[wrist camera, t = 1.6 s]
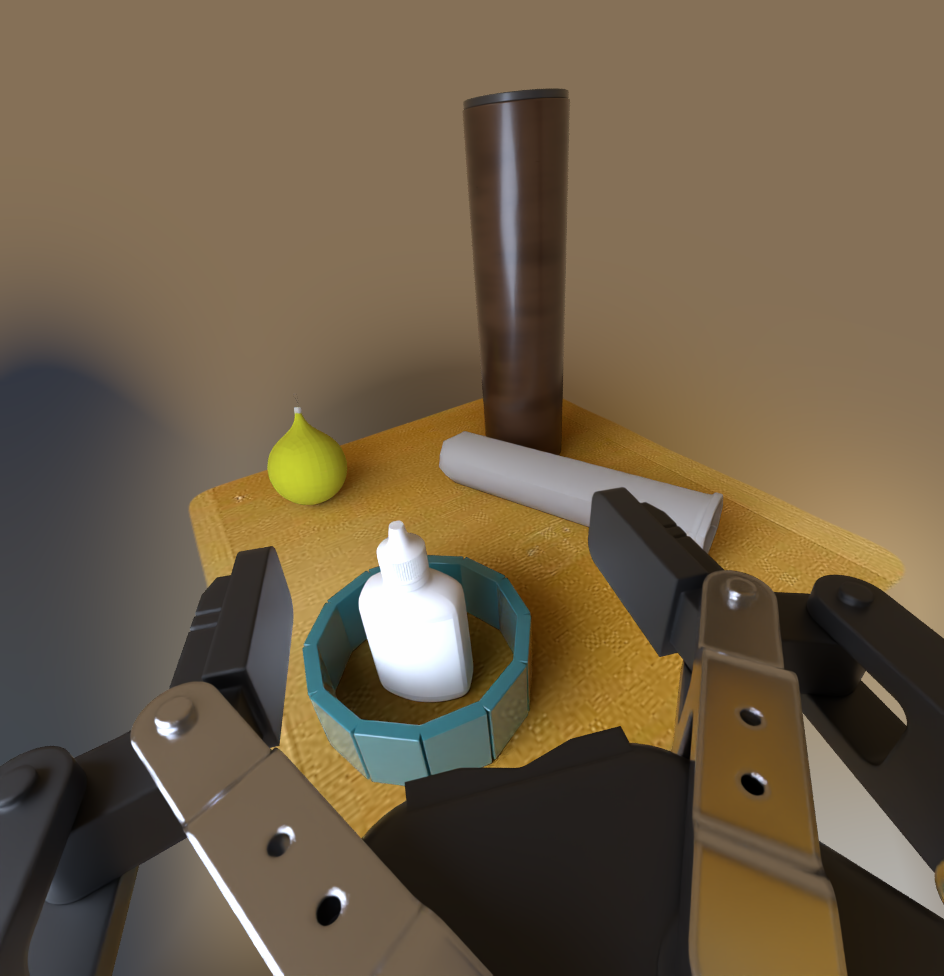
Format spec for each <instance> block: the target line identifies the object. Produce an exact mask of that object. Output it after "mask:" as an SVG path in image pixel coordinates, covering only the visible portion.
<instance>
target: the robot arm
mask: <svg viewBox="0 0 944 976" xmlns="http://www.w3.org/2000/svg"><path fill="white" fill-rule="evenodd" d="M588 545H589V551H590V554H591V557H592V559H593V561H594V563H595V564H596V566H597V567H598V569H599V570H600V572H601V573H602V574H603V576H604V577H605V579H606V580H607V582H608V583H609V585H610V586H611V587H612V589H613V590H614V592H615V593H616V595H617V596H618V598H619V599H620V600H621V602H622V603H623V605H624V606H625V608H626V609H627V611H628V612H629V613H630V615H631V616H632V618H633V619H634V621H635V622H636V623H637V625H638V626H639V628H640V629H641V631H642V632H643V634H644V635H645V636H646V638H647V639H648V641H649V642H650V644H651V645H652V647H653V648H654V649H655V651H656V652H657V654H658V655H659V657H661V656H666V655H670V654H674V653H679V655H680V656H681V657H682V659H683V663H682V666H681V672H680V681H679V691H678V700H677V710H676V719H675V728H674V737H673V743H672V749H671V751H668V750H665V749H662V748H659V747H655V746H651V745H645V744H638V743H629V741H628V739H627V737H626V735H625V733H624V732H623V730H622V728H621V726H619V727H615V728H611V729H607V730H603V731H599V732H596V733H592V734H588V735H584V736H580V737H576V738H573V739H570V740H568V741H566V742H565V743H563V744H561V745H560V746H558V747H556V748H554V749H553V750H551V751H549V752H548V753H546V754H544V755H543V756H541V757H539V758H538V759H536V760H534V761H532V762H531V763H529V764H527V765H525V766H523V767H520V768H457V769H453V770H449V771H446V772H442V773H438V774H434V775H430V776H426V777H423V778H419V779H415V780H411V781H407V782H405V791H406V800H407V801H405V802H403V803H402V804H400V805H398V806H397V807H395V808H394V809H392V810H391V811H390V812H388V813H387V814H386V815H384V816H383V817H382V818H381V819H380V820H379V821H378V822H377V823H376V824H374V825H373V826H372V827H371V828H370V830H369V831H368V832H367V833H366V834H365V835H364V836H363V838H362V839H361V838H360V837H359V836H358V835H357V833H356V832H355V831H354V830H353V829H352V828H351V827H350V826H349V825H348V824H347V822H346V821H345V820H344V819H343V818H342V817H341V816H340V815H339V814H338V812H337V811H336V810H335V809H334V808H333V807H332V806H331V805H330V804H329V803H328V801H327V800H326V799H325V798H324V797H323V796H322V795H321V794H320V793H319V792H318V790H317V789H316V788H315V787H314V786H313V785H312V784H311V783H310V782H309V781H308V779H307V778H306V777H305V776H304V775H303V774H302V773H301V772H300V771H299V770H298V768H297V767H296V766H295V765H294V764H293V763H292V762H291V761H290V760H289V759H288V757H287V756H286V755H285V754H284V753H283V752H282V751H280V750H279V749H278V748H274V749H273V750H271V749H270V748H271V747H275V746H279V744H280V735H281V726H282V717H283V708H284V699H285V690H286V681H287V672H288V663H289V654H290V645H291V636H292V627H293V605H292V599H291V595H290V592H289V589H288V586H287V582H286V579H285V576H284V573H283V570H282V567H281V564H280V561H279V558H278V555H277V552H276V550H275V548H274V547H273V546H270V547H264V548H258V549H252V550H246V551H241V552H238V554H237V556H236V559H235V563H234V566H233V570H232V573H231V575H229V576H223V577H217V578H216V579H215V580H214V582H213V583H212V584H211V585H210V586H209V587H208V588H207V590H206V591H205V592H204V593H203V594H202V596H201V599H200V601H199V604H198V607H197V610H196V617H194V619H193V622H192V625H191V627H190V629H191V632H189V633H188V636H187V639H186V642H185V645H184V647H183V650H182V653H181V656H180V659H179V662H178V665H177V668H176V671H175V673H174V677H173V679H172V682H171V685H170V688H169V690H167V691H165V692H164V693H162V694H160V695H159V696H157V697H156V698H155V699H153V700H152V701H151V702H150V703H149V704H148V705H147V706H146V707H145V708H144V709H143V710H142V711H141V713H140V714H139V715H138V717H137V718H136V720H135V722H134V724H133V727H132V730H131V731H129V732H127V733H125V734H124V735H122V736H120V737H118V738H116V739H113V740H111V741H109V742H108V743H105V744H103V745H101V746H99V747H96V748H94V749H92V750H90V751H88V752H86V753H84V754H82V755H79V756H77V757H75V758H73V757H72V756H71V754H70V753H69V752H68V751H67V750H66V749H64V748H61V747H58V746H45V747H40V748H36V749H33V750H30V751H27V752H25V753H23V754H20V755H18V756H17V757H15V758H13V759H11V760H9V761H8V762H6V763H5V764H3V765H2V766H0V976H112V973H113V969H114V965H115V960H116V957H117V953H118V949H119V945H120V941H121V936H122V932H123V928H124V924H125V920H126V916H127V912H128V908H129V904H130V900H131V896H132V892H133V888H134V884H135V880H136V876H137V872H138V868H139V865H140V864H142V863H144V862H146V861H147V860H149V859H151V858H152V857H154V856H156V855H158V854H159V853H161V852H163V851H165V850H166V849H168V848H170V847H172V846H173V845H175V844H177V843H178V842H180V841H182V840H184V839H185V838H187V837H188V839H189V840H190V842H191V844H192V845H193V847H194V848H195V850H196V852H197V853H198V855H199V856H200V858H201V860H202V861H203V863H204V864H205V866H206V868H207V869H208V871H209V872H210V874H211V876H212V877H213V879H214V880H215V882H216V883H217V885H218V887H219V888H220V890H221V891H222V893H223V895H224V896H225V898H226V900H227V901H228V903H229V904H230V906H231V907H232V909H233V911H234V912H235V914H236V916H237V917H238V919H239V920H240V922H241V923H242V925H243V927H244V928H245V930H246V932H247V933H248V935H249V936H250V938H251V940H252V941H253V943H254V944H255V946H256V948H257V949H258V951H259V952H260V954H261V956H262V957H263V959H264V960H265V962H266V963H267V965H268V967H269V968H270V970H271V971H272V973H273V975H274V976H944V919H943V918H941V917H940V916H938V915H937V914H935V913H933V912H932V911H930V910H929V909H927V908H925V907H924V906H922V905H921V904H919V903H917V902H916V901H914V900H913V899H911V898H909V897H908V896H906V895H905V894H903V893H901V892H900V891H898V890H897V889H895V888H893V887H892V886H890V885H889V884H887V883H886V882H884V881H882V880H881V879H879V878H878V877H876V876H874V875H872V874H871V873H870V872H868V871H866V870H865V869H863V868H861V867H860V866H858V865H857V864H855V863H854V862H852V861H850V860H849V859H847V858H846V857H844V856H842V855H841V854H839V853H837V852H836V851H834V850H833V849H831V848H830V847H828V846H826V845H825V844H823V843H821V842H820V841H819V839H818V831H817V823H816V816H815V808H814V801H813V792H812V785H811V778H810V769H809V761H808V753H807V745H806V738H805V730H804V722H803V714H804V715H805V716H806V717H807V719H808V720H809V721H810V722H811V723H812V725H813V726H814V727H815V728H816V730H817V731H818V732H819V733H820V734H821V735H822V737H823V738H824V739H825V740H826V742H827V743H828V744H829V745H830V747H831V748H832V749H833V750H834V751H835V753H836V754H837V755H838V756H839V757H840V759H841V760H842V761H843V762H844V764H845V765H846V766H847V767H848V768H849V770H850V771H851V772H852V773H853V774H854V776H855V777H856V778H857V779H858V780H859V782H860V783H861V784H862V785H863V787H864V788H865V789H866V790H867V792H868V793H869V794H870V795H871V796H872V797H873V799H874V800H875V801H876V802H877V804H878V805H879V806H880V807H881V808H882V810H883V811H884V812H885V813H886V814H887V816H888V817H889V818H890V819H891V821H892V822H893V823H894V824H895V826H896V827H897V828H898V829H899V830H900V832H901V833H902V834H903V835H904V836H905V838H906V839H907V840H908V841H909V843H910V844H911V845H912V846H913V847H914V849H915V850H916V851H917V852H918V853H919V855H920V856H921V857H922V858H923V860H924V861H925V862H926V863H927V864H928V866H929V867H930V868H931V869H932V870H933V872H934V873H935V883H936V888H937V891H938V893H939V896H940V898H941V900H942V902H943V904H944V638H942V637H941V636H940V635H938V634H937V633H936V632H934V631H933V630H932V629H930V628H929V627H928V626H927V625H926V624H924V623H923V622H922V621H920V620H919V619H918V618H917V617H915V616H914V615H913V614H912V613H910V612H909V611H908V610H906V609H905V608H904V607H903V606H901V605H900V604H899V603H898V602H896V601H895V600H894V599H892V598H891V597H890V596H888V595H887V594H886V593H885V592H883V591H882V590H881V589H879V588H877V587H876V586H874V585H872V584H870V583H868V582H866V581H863V580H860V579H857V578H854V577H850V576H844V575H827V576H823V577H821V578H819V579H818V580H817V581H816V582H815V584H814V586H813V589H812V591H811V594H804V593H782V592H773V591H772V589H771V588H770V587H769V586H768V585H766V584H765V583H764V582H762V581H761V580H759V579H757V578H755V577H753V576H751V575H748V574H746V573H742V572H738V571H731V570H724V569H723V568H722V567H721V566H720V565H719V564H718V563H717V562H716V561H714V560H713V559H712V558H711V557H710V556H709V555H708V554H707V553H706V552H705V551H704V550H703V549H702V548H701V547H700V546H699V545H698V544H697V543H696V542H695V541H694V540H693V539H692V538H691V537H690V536H687V533H686V532H685V531H684V530H683V529H682V528H681V527H680V526H677V525H676V523H675V522H674V521H673V520H672V519H671V518H670V517H669V516H668V515H667V514H666V513H665V512H664V511H662V510H660V509H658V508H656V507H655V506H653V505H651V504H649V503H647V502H643V503H640V502H639V501H638V500H637V499H636V498H635V497H634V496H633V495H632V494H631V493H630V492H629V491H628V490H627V489H626V488H624V487H619V488H614V489H608V490H602V491H596V492H595V493H594V494H593V496H592V503H591V513H590V524H589V535H588ZM865 671H867V672H868V673H869V674H870V675H871V676H872V677H873V678H874V679H875V680H876V681H877V682H878V683H879V684H880V685H882V686H883V687H884V688H885V689H886V690H887V691H888V692H889V693H890V694H891V695H892V696H893V697H894V698H895V699H896V700H897V701H898V703H899V704H900V705H901V707H902V708H903V710H904V712H905V715H906V719H907V726H906V725H905V724H904V723H903V722H902V721H901V720H900V719H899V718H898V717H897V716H896V715H895V714H894V713H893V712H892V711H891V710H890V709H889V708H888V707H887V706H886V705H885V704H884V703H883V702H882V701H881V700H880V699H879V698H878V697H877V696H876V695H875V694H874V693H873V692H872V691H871V690H870V689H869V688H868V687H867V686H866V685H865V684H864V683H863V682H862V681H861V678H862V676H863V675H864V673H865ZM802 712H803V714H802Z"/></svg>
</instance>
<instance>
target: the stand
mask: <svg viewBox="0 0 944 976" xmlns="http://www.w3.org/2000/svg"><path fill="white" fill-rule="evenodd" d="M463 104H464V110H463V122H464V137H465V151H466V164H467V178H468V192H469V207H470V219H471V233H472V247H473V262H474V275H475V290H476V304H477V316H478V331H479V345H480V358H481V374H482V385H483V386H482V387H483V401H484V415H485V429H486V437H489V438H493V439H496V440H500V441H504V442H508V443H512V444H516V445H520V446H524V447H527V448H531V449H535V450H539V451H543V452H547V453H551V454H554V455H559V453H560V451H561V439H562V398H563V356H564V313H565V312H564V311H565V274H566V233H567V229H566V228H567V191H568V148H569V107H570V100H569V99H568V90H566V89H532V90H522V91H512V92H504V93H497V94H490V95H485V96H480V97H475V98H471V99H468V100H466V101H464V103H463Z"/></svg>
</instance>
